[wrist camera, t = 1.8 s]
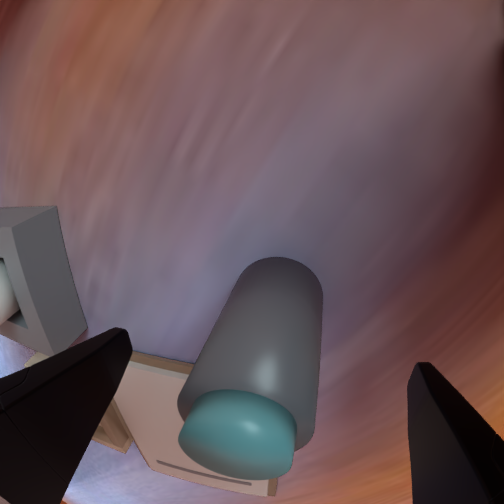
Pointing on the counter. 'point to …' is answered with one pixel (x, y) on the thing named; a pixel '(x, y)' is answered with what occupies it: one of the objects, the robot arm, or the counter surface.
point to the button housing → (39, 280)
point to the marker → (257, 375)
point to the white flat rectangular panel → (168, 423)
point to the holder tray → (103, 421)
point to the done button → (6, 295)
